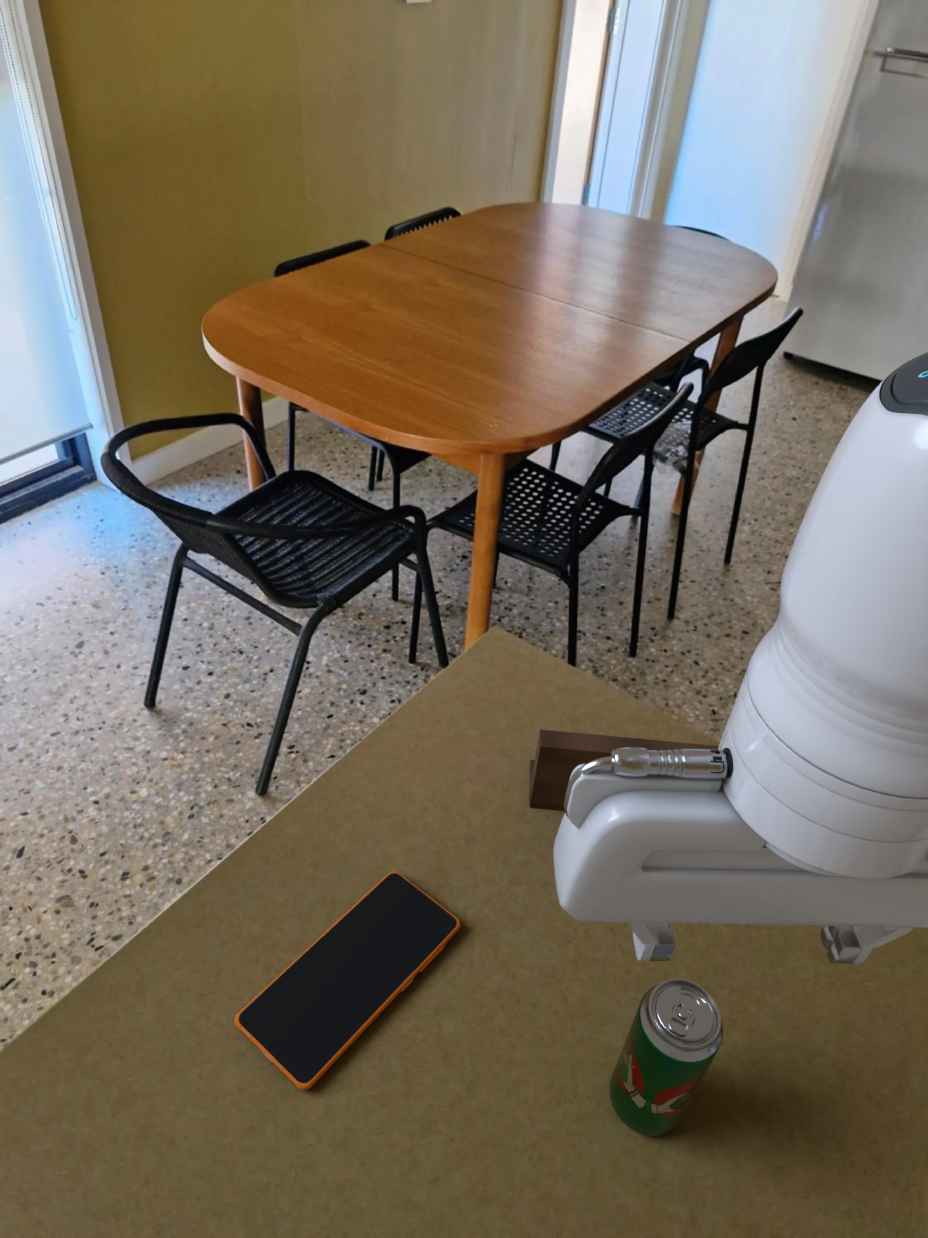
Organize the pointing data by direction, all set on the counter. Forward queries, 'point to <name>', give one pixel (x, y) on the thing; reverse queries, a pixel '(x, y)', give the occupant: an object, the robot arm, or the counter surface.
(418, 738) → the counter surface
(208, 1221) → the counter surface
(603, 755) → the brown rectangular block
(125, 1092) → the counter surface
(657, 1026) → the soda can
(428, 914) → the smartphone
